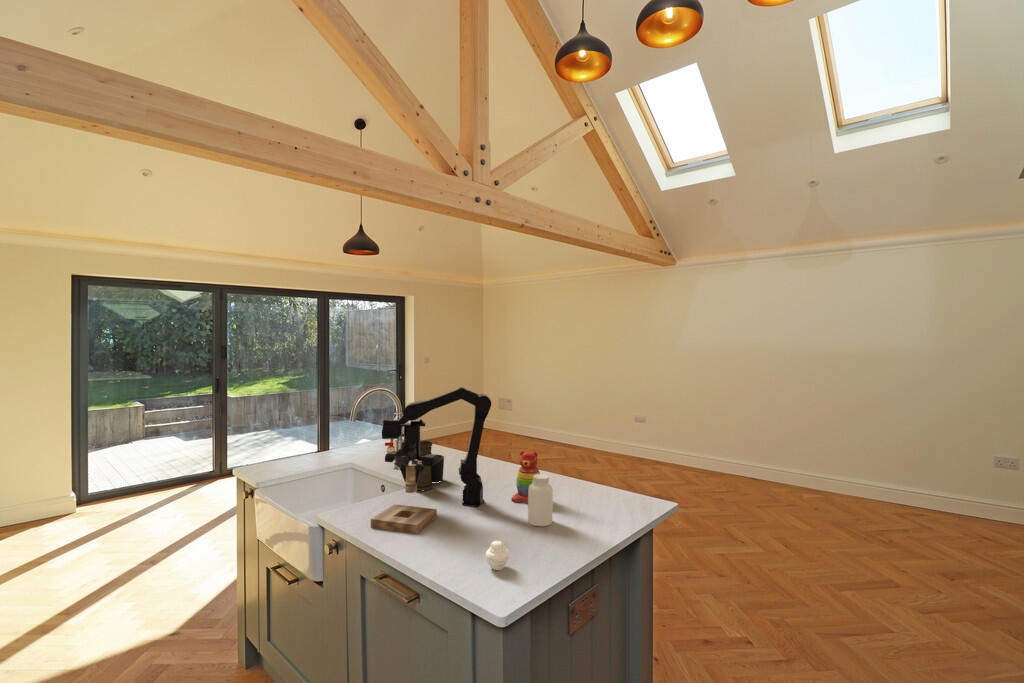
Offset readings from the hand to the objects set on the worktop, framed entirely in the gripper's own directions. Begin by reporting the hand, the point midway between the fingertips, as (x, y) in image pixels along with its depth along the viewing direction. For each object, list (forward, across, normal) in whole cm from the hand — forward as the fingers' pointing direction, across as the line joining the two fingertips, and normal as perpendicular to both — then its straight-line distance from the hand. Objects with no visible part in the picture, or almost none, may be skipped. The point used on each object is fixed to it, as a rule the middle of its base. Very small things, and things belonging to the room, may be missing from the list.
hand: (411, 482), depth 164 cm
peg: (+3, 0, 0) cm, 3 cm away
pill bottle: (+8, +47, -1) cm, 48 cm away
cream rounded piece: (+8, +43, -34) cm, 56 cm away
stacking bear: (+8, +38, +19) cm, 44 cm away
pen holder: (+8, -6, +29) cm, 31 cm away
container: (+8, -6, +19) cm, 22 cm away
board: (+8, +5, -14) cm, 17 cm away
